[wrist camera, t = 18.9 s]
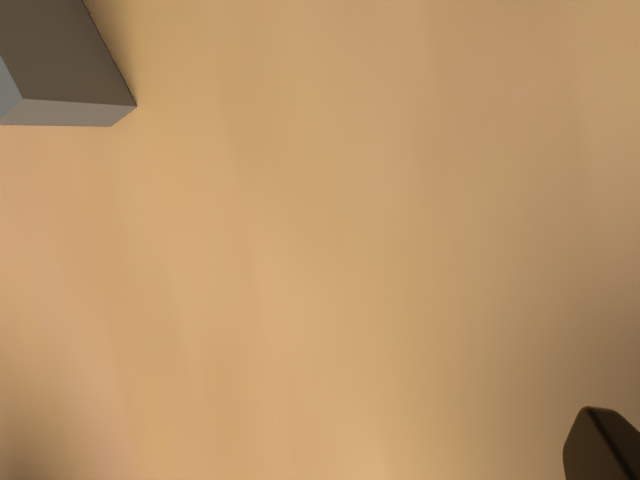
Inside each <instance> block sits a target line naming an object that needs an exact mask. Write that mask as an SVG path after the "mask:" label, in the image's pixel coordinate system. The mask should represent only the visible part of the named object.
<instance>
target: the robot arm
mask: <svg viewBox="0 0 640 480" xmlns="http://www.w3.org/2000/svg"><path fill="white" fill-rule="evenodd" d="M563 465H564V471H565V477H566V480H640V432H639V431H638V430H637V429H636V428H635V427H634V426H632V425H631V424H630V423H629V422H628V421H627V420H626V419H625V418H624V417H622V416H621V415H620V414H619V413H618V412H616V411H614V410H611V409H606V408H598V407H591V406H586V407H583V408H582V409H581V410H580V411H579V413H578V414H577V417H576V419H575V421H574V424H573V426H572V428H571V430H570V433H569V435H568V437H567V439H566V442H565V444H564V448H563Z"/></svg>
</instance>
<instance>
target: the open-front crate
mask: <svg viewBox="0 0 640 480" xmlns="http://www.w3.org/2000/svg"><path fill="white" fill-rule="evenodd" d="M136 107H137V106H136V104H135V102H134V100H133V98H132V96H131V94H130V92H129V90H128V88H127V86H126V84H125V82H124V81H123V79H122V77H121V75H120V73H119V71H118V69H117V67H116V65H115V63H114V61H113V59H112V57H111V56H110V54H109V52H108V50H107V48H106V46H105V44H104V42H103V40H102V38H101V36H100V34H99V32H98V30H97V29H96V27H95V25H94V23H93V21H92V19H91V17H90V15H89V13H88V11H87V9H86V7H85V5H84V3H83V2H82V0H0V125H30V126H101V127H110V126H112V125H113V124H114V123H116V122H117V121H118V120H120V119H121V118H122V117H124V116H125V115H126V114H128V113H129V112H130V111H132V110H133V109H134V108H136Z"/></svg>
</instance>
